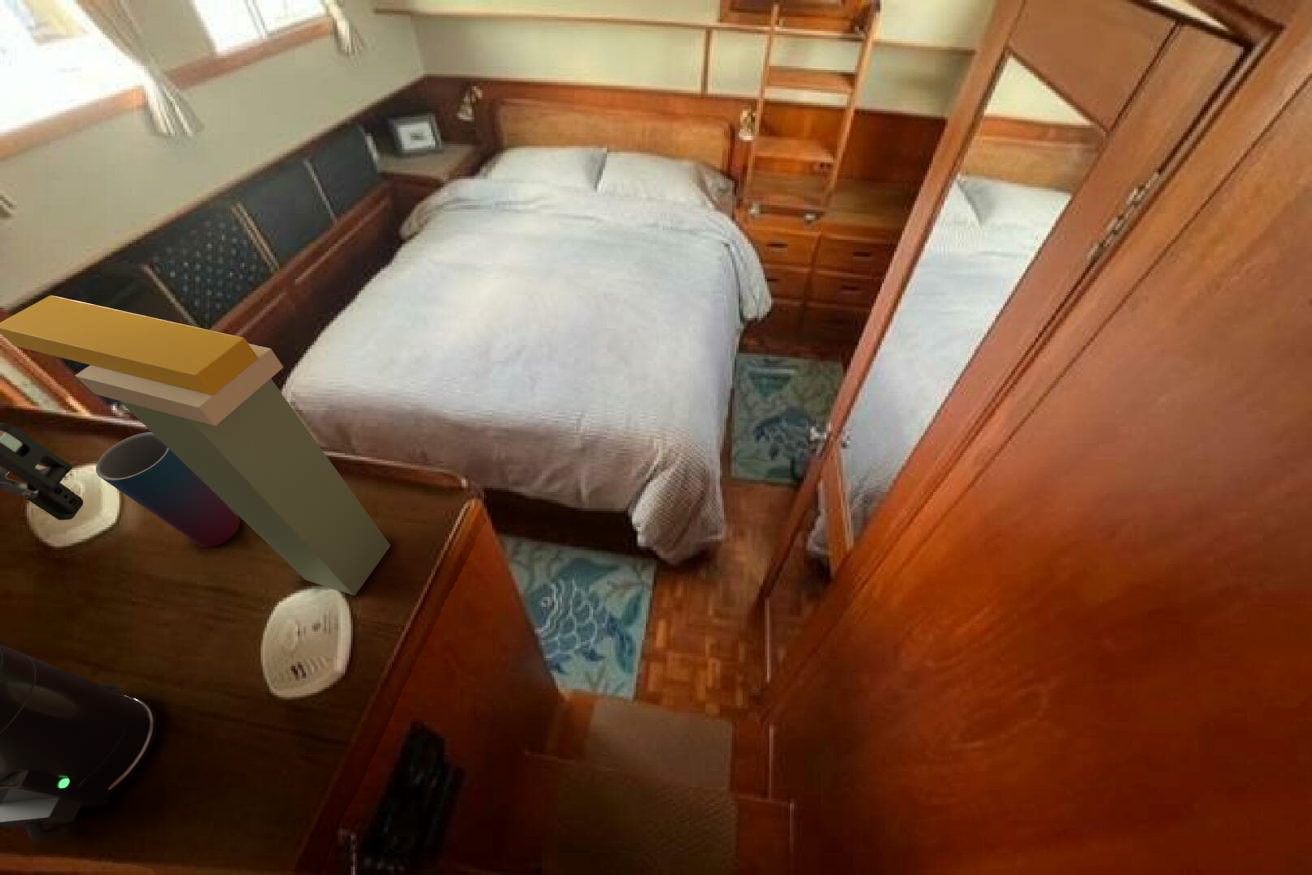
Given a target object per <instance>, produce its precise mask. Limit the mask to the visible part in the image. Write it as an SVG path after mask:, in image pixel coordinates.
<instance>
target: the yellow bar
mask: <svg viewBox="0 0 1312 875" xmlns="http://www.w3.org/2000/svg"><path fill="white" fill-rule="evenodd" d="M0 334H1V335H2V336H3V337H4V338H5V339H7V341H8V342H10V343H11V344H12V345H13V346H14V347H17V348H22V349H25V350H30V351H34V352H38V353H40V354H45V355H49V356H52V357H57V358H62V359H65V360H69V361H74V362H77V363H80V364H85V365H89V366H90V365H93V366H97V367H101V368H105V369H109V370H113V371H117V372H121V373H125V374H129V375H133V376H137V377H141V378H145V379H149V380H153V381H157V382H161V383H165V384H169V385H173V386H177V387H181V388H185V389H189V390H193V391H197V392H201V393H205V394H209V395H214V394H215V393H216V392H217V391H219V390H220V389H221V388H222V387H224V386H225V385H226V384H227V383H228V382H230V381H231V380H232V379H233V378H235V377H236V376H237V375H238V374H239V373H241V372H242V371H243V370H244V369H246V368H247V367H248V366H249V365H251V364H252V363H253V362H254V361H255V360H257V359H258V356H257V355H256V354H255V352H254V351H253V349H252V348H251V347H250V345H249V344H250V343H249V342H248V341H247V339H246V338H245V337H243V336H237V335H233V334H228V333H223V332H219V331H214V330H210V329H206V328H201V327H196V326H192V325H188V324H182V323H178V322H174V321H169V320H166V319H160V318H156V317H151V316H146V315H142V314H137V313H133V312H128V311H124V310H119V309H114V308H110V307H106V306H101V305H97V304H92V303H87V302H82V301H78V300H73V299H70V298H69V299H68V298H65V297H60V296H56V295H48V296H46V297H45V298H43V299H40V300H39V301H37V302H36V303H34V304H32V305H30V306H28V307H27V308H24V309H22V310H21V311H19V312H17V313H15V314H13V315H12V316H9V317H8V318H6V319H4V320H2V321H1V322H0Z"/></svg>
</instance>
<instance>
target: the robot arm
mask: <svg viewBox="0 0 1312 875" xmlns="http://www.w3.org/2000/svg"><path fill="white" fill-rule="evenodd" d="M40 463H41V464H42V465H41V464H40ZM72 469H73V466H72V465H71V464H70V463H68V462H67V461H66V460H64V459H63V458H61V457H60V456H58V455H57V454H55V453H54V452H53V451H51V449H48V448H47V447H46V446H44V445H43V444H41V443H40V442H39V441H37V440H35V438H33V437H31V436H30V435H28V434H27V433H25V432H24V431H22V430H21V429H20V428H18V427H17V426H15V425H13V424H11V423H7V422H0V490H1V491H6V492H9V493H12V494H15V495H18V496H22V497H25V499H26V500H27V501H29V502H30V503H32V504H33V505H34V506H36V507H37V508H39V509H41V510H43V511H44V512H46V514H48V515H50V516H52V517H53V518H55V519H56V520H58V521H70V520H72V519H74V518H75V517H76V515H77V514H78V512H79V511H80V510H81V508H82V507H83V505H84V500H83V498H82V497H81V496H80V495H78V494H77V493H75V492H74V491H72V490H71V489H70V488H68V487H67V486H66V485H64V484H63V483H61V482H62V481H63V479H64V478H65V477H66V476H67V475H68V474H69V473H70V471H71V470H72ZM9 473H11V474H12V475H14V476H16V477H17V478H19V479H20V480H22V481H24V482H22V481H21V482H20V481H18V480H15V479H11V478H8V477H7V476H8V475H9ZM119 690H120V691H121V690H124V688H123V687H120V686H118V685H116V684H114V683H112V684H103V685H100V684H98V683H95V682H94V681H93V682H92V681H90V680H88V679H85V678H83V677H81V676H78V675H75V674H73V673H71V672H69V671H66V670H64V669H61V668H59V667H56V666H54V665H52V664H50V663H47V662H44V661H42V660H40V659H38V658H35V657H32V656H30V655H27V654H25V653H24V652H21V651H19V650H16V649H14V648H11V647H8V646H6V645H4V644H2V643H0V826H1V827H9V828H24V829H25V830H26V833H27V835H28V837H29V839H30V840H32V841H33V842H37V843H39V842H40V843H41V842H46V841H49V840H53V839H55V838H56V837H58V836H61V835H63V834H64V833H66V832H67V831H68V829H69V824H68V823H72V822H74V821H75V819H76V816H77V815H78V813H79V811H80V809H88V808H98V807H99V808H100V807H104V806H106V805H108V804H109V802H110V800H111V798H112V796H113V794H114V793H115V791H117V789H119V788H120V787H121V786H122V785H124V784H125V783H126V781H128V780H129V779H130V778H131V777H132V776H133V775H134V774H135V772H136V771H137V770H138V769H139V767H141V766H142V764H143V762H144V761H145V760H146V758H147V756H148V755H149V753H150V751H151V749H152V747H153V745H154V743H155V739H156V737H157V731H158V716H157V714H156V712H155V710H154V709H153V707H152V706H151V705H150V704H148V703H147V702H144V701H142V700H139V699H136V698H133V697H130V696H127V695H124V694H122V693H119V692H117V691H119ZM53 824H57V825H54V826H53V827H50V828H48V829H47V828H44V827H43V826H44V825H53Z"/></svg>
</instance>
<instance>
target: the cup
mask: <svg viewBox="0 0 1312 875" xmlns="http://www.w3.org/2000/svg"><path fill="white" fill-rule="evenodd" d="M95 473H96V475H97V476H98V477H99V478H100V479H102V480H104V481H105V483H107V484H108V485H110V486H112V487H113V488H115V489H116V490H118V491H119V492H121V493H123V494H124V495H125V496H127V497H128V498H130V499H131V500H133V501H134V502H136V503H137V504H139V505H140V506H141V507H143V508H144V509H146V510H147V511H148V512H150V513H151V514H153V515H155V516H156V517H158V518H159V519H160V520H162V521H163V522H164V523H166V524H168V525H169V526H171V527H172V528H173V529H175V530H177V531H178V532H179V533H181V534H182V535H184V536H185V537H187V538H188V539H190V541H192V542H194V543H196V544H197V545H199V546H200V547H204V548H211V547H215V546H219V545H221V544H223V543H225V542H226V541H228V540H230V539H231V538H232V537H233V536H234V535H235V534H236V533H237V531H238V530H239V528H240V525H241V520H240V517H239V516H238V515H237V514H236V513H235V512H234V511H233V510H232V509H231V508H230V507H229V506H228V505H227V504H226V503H225V502H224V501H223V500H222V499H221V498H220V497H219V496H218V495H217V494H216V493H215V492H213V491H212V490H211V489H210V488H209V487H208V486H207V485H206V484H205V483H204V482H203V481H202V480H201V479H200V478H199V477H198V476H197V475H196V474H195V473H194V472H193V471H192V470H191V469H190V468H189V467H188V466H186V465H185V464H184V463H183V462H182V461H181V460H180V459H179V458H178V457H177V456H176V455H175V454H174V453H173V452H172V451H171V450H170V449H169V448H168V447H167V446H166V445H165V444H164V443H163V442H162V441H160V440H159V439H158V438H157V437H156V436H155V435H154V434H153V433H152V432H151V431H148V432H142V433H137V434H135V435H131V436H129V437H127V438H125V439H123V440H121V441H119V442H117V443H116V444H114V445H112V446H111V447H109V448H108V449H107V450H106V451H104V453H103V454H102V455H101V456H100V458H99V459H98V461H97V463H96V466H95Z"/></svg>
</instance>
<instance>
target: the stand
mask: <svg viewBox="0 0 1312 875" xmlns="http://www.w3.org/2000/svg"><path fill="white" fill-rule="evenodd" d="M248 344H249V345H250V347H251V348H252V349H253V351H254V352H255V354H256V355H257V356H258V359H257V360H255V361H254V362H253V363H252V364H251V365H249V366H248V367H247V368H246V369H244V370H243V371H242V372H241V373H239V374H238V375H237V376H236V377H235V378H233V379H232V380H231V381H230V382H228V383H227V384H226V385H225V386H224V387H222V388H221V389H220V390H219V391H217V392H216V393H215V394H214V395H209V394H205V393H201V392H197V391H193V390H189V389H185V388H181V387H177V386H173V385H169V384H165V383H161V382H157V381H153V380H149V379H145V378H141V377H137V376H133V375H129V374H125V373H121V372H117V371H113V370H109V369H105V368H101V367H97V366H93V365H89V366H87V367H85V368H84V369H82V370H80V371H79V372H78V373H76V374H74V376H75V378H77V379H78V380H79V382H81V383H82V384H83V385H84V386H85V387H86V388H87V389H89V391H90V392H92V393H93V394H94V395H95V396H101V397H103V398H104V397H105V398H107V399H112V400H116V401H118V402H120V403H121V404H122V406H124V407H125V408H126V409H127V410H128V411H129V412H130V413H131V414H132V415H133V416H134V417H135V418H136V419H137V420H138V421H140V423H142V424H143V425H144V427H146V428H147V429H148V430H149V432H152V433H153V434H154V435H155V436H156V437H157V438H158V439H159V440H160V441H162V442H163V443H164V444H165V445H166V446H167V447H168V448H169V449H170V450H171V451H172V452H173V453H174V454H175V455H176V456H177V457H178V458H179V459H180V460H181V461H182V462H183V463H184V464H185V465H186V466H188V467H189V468H190V469H191V470H192V471H193V472H194V473H195V474H196V475H197V476H198V477H199V478H200V479H201V480H202V481H203V482H204V483H205V484H206V485H207V486H208V487H209V488H210V489H211V490H212V491H213V492H215V493H216V494H217V495H218V496H219V497H220V498H221V499H222V500H223V501H224V502H225V503H226V504H227V505H228V506H229V507H230V508H231V510H232V511H233V512H234V513H235V514H236V515H237V516H238V518H240V519H241V520H242V521H243V522H245V524H247V525H248V526H249V528H251V529H252V530H253V531H254V532H255V533H256V534H257V535H258V536H259V538H261V539H262V540H263V541H264V542H265V543H266V544H268V545H269V546H270V548H271V549H272V550H274V552H275V553H277V555H279V556H280V557H281V558H282V559H283V560H284V561H285V562H286V563H287V564H288V565H289V566H290V567H291V568H292V569H294V571H296V573H297V574H299V575H300V576H301V578H303V579H304V581H307V582H310V583H313V584H317V585H320V586H323V587H325V588H329V589H331V590H335V591H338V592H341V593H345V594H347V595H351V596H353V597H354V596H355V597H356V595H357V594H358V593H359V591H360V589H361V588H362V586H363V585H364V583H365V582H366V581H367V580H368V579H369V577H370V575H371V574H372V572H373V571H374V570H375V568H376V567H377V565H378V564H379V563H380V562H381V560H382V559H383V557H384V556H385V554H386V553H387V552H388V550H389V549H390V548H391V544H390V543H389V541H388V540H387V539H386V537H385V536H384V534H383V533H382V532H381V531H380V529H379V528H378V526H377V525H376V523H375V522H374V520H373V519H372V518H371V516H370V515H369V513H368V512H367V511H366V509H365V507H364V506H363V505H362V504H361V503H360V501H359V499H358V498H357V497H356V496H355V494H354V492H353V490H351V488H350V487H349V486H348V484H347V482H345V480H344V478H343V477H342V476H341V474H340V473H339V472H338V470H337V469H336V467H335V466H334V465H333V463H332V462H331V460H330V459H329V457H328V456H327V455H326V454H325V452H324V450H323V449H322V448H321V446H320V445H319V444H318V442H317V441H316V440H315V438H314V437H313V435H312V433H310V431H309V429H308V428H307V427H306V425H305V424H304V422H302V420H301V418H300V417H299V415H298V414H297V413H296V412H295V410H294V408H293V407H292V406H291V405H290V403H289V402H288V400H287V398H286V397H285V396H284V395H283V393H282V392H281V390H280V389H279V388H278V386H277V385H276V384H275V382H274V381H273V379H272V378H273V377H274V376H275V375H277V374H278V373H279V372H280V371H281V370H283V368H284V366H283V364H282V363H281V361H280V360H279V358H278V357H277V356H276V354H275V352H274V351H273V349H272V348H270V347H265V346H260V345H256V344H253V343H252V344H251V343H248Z"/></svg>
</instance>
